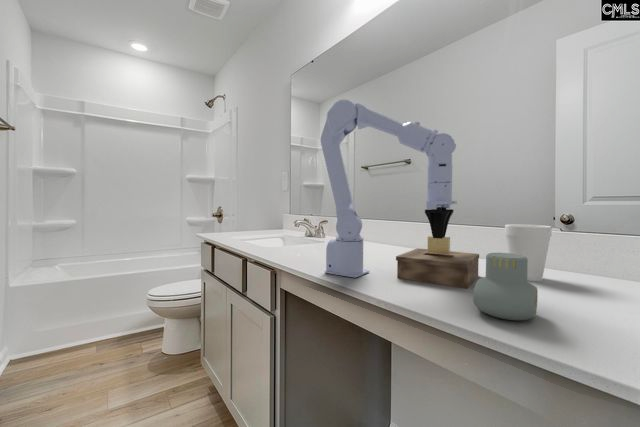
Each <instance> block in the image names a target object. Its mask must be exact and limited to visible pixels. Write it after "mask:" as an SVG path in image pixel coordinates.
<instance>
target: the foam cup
mask: <svg viewBox="0 0 640 427" xmlns="http://www.w3.org/2000/svg"><path fill="white" fill-rule="evenodd" d="M504 235H505V236H506V237H505V238H506V239H505V240H506V247H507V253H511V254H518V255H523V256H525V257H526V258H527V259H528V266H527V282H529V281H530V282H541V281H542V280H543V277H544V272H545V267H546V261H547V256H548V249H549V246H550V240H551V237H552V226H551V225H540V224H505V225H504Z"/></svg>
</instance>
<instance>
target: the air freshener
mask: <svg viewBox="0 0 640 427" xmlns="http://www.w3.org/2000/svg"><path fill="white" fill-rule="evenodd" d="M527 266H528V259H527V258H526V257H525V256H523V255H518V254H511V253H508V252H490V253H487V254H486V256H485V277H482V278H478V280H476V282H475V284H474V288H473V293H472V294H473V295H472V301H473V305H474V306H475V307H476V308H477V309H479V310H480V311H481V312H483V313H485V314H487V315H489V316H491V317H494V318H497V319H501V320H508V321H518V322H519V321H521V322H523V321H526V320H531V319H534V318H535V317H536V315H537V311H538V310H537V308H538V287H537V286H536V285H534V284H532V283H531V282H529V281H527Z"/></svg>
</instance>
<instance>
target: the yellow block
mask: <svg viewBox="0 0 640 427" xmlns="http://www.w3.org/2000/svg"><path fill="white" fill-rule="evenodd" d="M427 249H428V253H440V254H450V251H451V237H450V236H445V237H443V238H442V239H440V238H433V236H432V235H429V236H427Z"/></svg>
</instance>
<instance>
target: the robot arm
mask: <svg viewBox="0 0 640 427" xmlns="http://www.w3.org/2000/svg"><path fill="white" fill-rule="evenodd" d="M420 124H421V123H420V122H419V121H414V122H412V121H408V122H406V123H401V122H399V121H397V120H395V119H392V118H390V117H388V116H386V115H384V114H383V113H382V114H381V113H379V112H378V111H375V110H373V109H370V108H369V107H368V106H367V107H366V106H365V105H363V104H361V103H359V102H352V101H351V100H349V99H344V98H343V99H339V100H337V101H336V102H334V103H333V105H332V107H331V108H330V109H329V110H328V111H327V114H326V120H325V124H324V126H323V129H322V132H321V136H320V145H321V148H322V153H323V157H324V161H325V162H324V163H325V166H326V170H327V175H328V178H329V183H330V186H331V191H332V197H333V199H334V203H335V204H334V205H335V214H336V224H335V230H336V233H337V235H338V236H336V237H335V238H332V239H330V240H329V241H328V242H327V244H326V250H325V252H326V255H325V260H326V261H325V262H326V264H325V265H326V266H325V267H326V268H325V270H324V273H325V274H330V275H336V276H344V277H348V278H349V277H350V278H358V277H361V276H363V275H365V274H368V273H370V270H369V269H364V237H362V236H361V232H362V229H363V222H362V219H361V218H360V216H359V215H358V214H357V212H356V207H355V205H354V201H353V197H352V192H351V189H350V188H351V187H350V183H349V180H348V177H347V176H348V175H347V172H346V167H345V164H344V158H343V154H342V150H341V146H340V145H341V143H342V142H343V141H344V139H345V138H346V137H347V136H348V135H349V134H350V133H352V132H353V131H354V130H355V129H356V127H357V130H361V129H366V128H368V127H370V128H372V129H375V130H378V131H380V132H384V133H386V134H389V135H392V136H394V137H397V139H398V141H399V144H401V145H404V146H406V147H408V148H411V149H413V150H415V151H418V152H420V153H425V155H426V156H427V160H428V165H427V185H426V186H427V197H426V209H424V214H425V216H426V217H427V219H428V222H429V226H430V230H431V236H433V238H440V239H442V238H443V237H446V233H447V230H448V227H449V226H448V225H449V222H450V219H451V217H452V215H453V214H454V209H452V208H451V205H457V204H458V201H457V200H455V201H454V200H453V199H452V198H453V153H454V152H455V150H456V147H457V144H456V143H455V139H454V138H453V137H452V136H451V134H448V133H444V132H441V133H439V130H437V129H433V130H432V129H429V128H427V127H425V126H422V125H420Z"/></svg>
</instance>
